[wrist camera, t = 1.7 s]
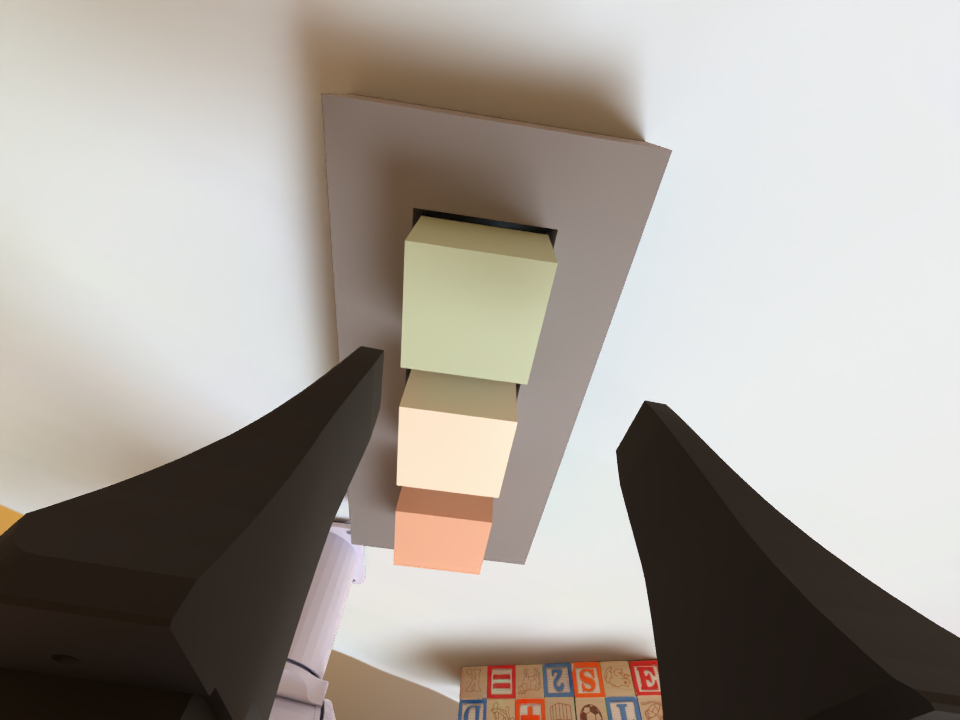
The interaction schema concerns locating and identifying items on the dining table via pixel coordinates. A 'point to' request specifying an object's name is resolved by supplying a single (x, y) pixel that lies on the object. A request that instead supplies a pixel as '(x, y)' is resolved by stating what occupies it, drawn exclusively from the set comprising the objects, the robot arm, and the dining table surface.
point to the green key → (474, 299)
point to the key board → (497, 196)
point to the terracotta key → (441, 530)
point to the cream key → (455, 433)
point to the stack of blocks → (562, 691)
